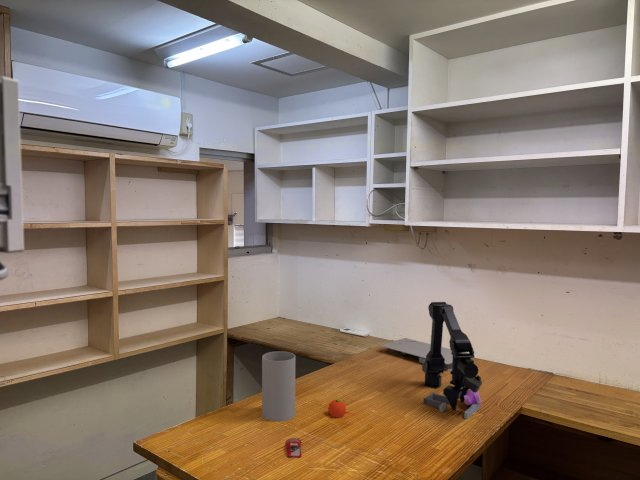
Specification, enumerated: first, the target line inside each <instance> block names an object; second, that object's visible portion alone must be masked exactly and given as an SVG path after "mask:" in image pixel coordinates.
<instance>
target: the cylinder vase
mask: <svg viewBox="0 0 640 480" xmlns="http://www.w3.org/2000/svg"><path fill="white" fill-rule="evenodd" d="M261 358H262V359H261V368H262V369H261V407H262V408H261V416H262V417H263V419H266V420H267V421H272V422H286V421H289V420H292V419H293V418H295V416H296V355H295V354H294V353H293V352H290V351H282V350H281V351H278V350H276V351H269V352H266V353H264V354H262V357H261Z"/></svg>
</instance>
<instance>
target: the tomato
mask: <svg viewBox="0 0 640 480" xmlns="http://www.w3.org/2000/svg"><path fill="white" fill-rule="evenodd" d="M345 403H346V402H345V400H344V399H341V398H339V399H334V400H332V401H330V403H329V404H328V406H327V411H328V415H330V417H332V418H337V419H339V418H342V417H344V415H345V414H346V412H347V411H346V410H347V407H346V404H345Z"/></svg>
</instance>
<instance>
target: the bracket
mask: <svg viewBox="0 0 640 480" xmlns="http://www.w3.org/2000/svg"><path fill="white" fill-rule="evenodd" d="M464 398H465V400H464V403H465V405H467V406H472V405H473V404H474V403H475V402H476V401H477V403H480V404H481V403H482V400H481V397H480V393H479V390H478V391H477V392H476V393H475V392H473V391H472V390H470V389H468V391H467V394H466V395H465V396H464Z"/></svg>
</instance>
